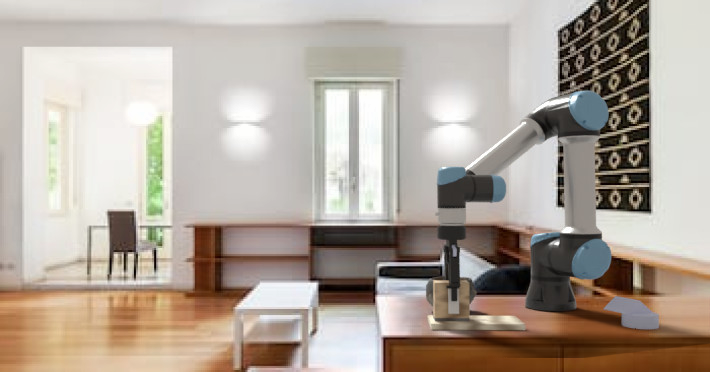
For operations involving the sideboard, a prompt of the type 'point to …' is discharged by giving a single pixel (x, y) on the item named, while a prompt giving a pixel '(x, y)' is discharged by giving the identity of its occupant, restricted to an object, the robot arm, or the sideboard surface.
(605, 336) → the sideboard surface
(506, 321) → the board
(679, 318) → the sideboard surface
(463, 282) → the block
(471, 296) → the bowl
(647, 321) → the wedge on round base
